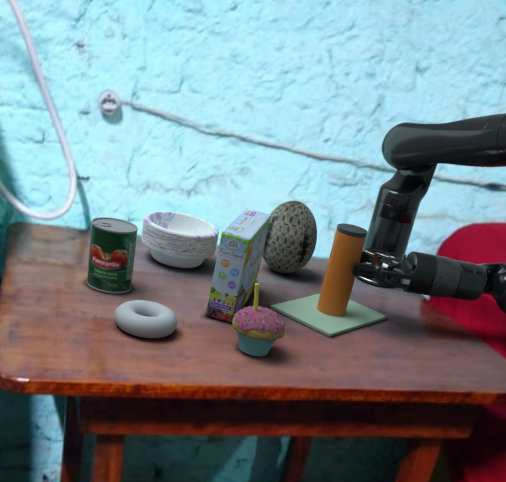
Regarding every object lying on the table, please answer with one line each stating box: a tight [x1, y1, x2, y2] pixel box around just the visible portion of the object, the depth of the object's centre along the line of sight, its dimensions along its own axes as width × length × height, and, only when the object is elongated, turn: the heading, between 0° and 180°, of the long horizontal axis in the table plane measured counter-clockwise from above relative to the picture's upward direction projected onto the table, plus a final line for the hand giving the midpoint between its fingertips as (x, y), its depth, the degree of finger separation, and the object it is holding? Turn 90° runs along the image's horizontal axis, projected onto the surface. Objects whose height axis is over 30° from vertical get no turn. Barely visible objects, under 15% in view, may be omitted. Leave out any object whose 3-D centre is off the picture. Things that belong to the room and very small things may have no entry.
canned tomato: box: [86, 216, 139, 295], centre depth 129 cm, size 8×8×11 cm
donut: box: [114, 299, 178, 339], centre depth 118 cm, size 10×4×10 cm
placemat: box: [269, 293, 387, 338], centre depth 142 cm, size 20×14×1 cm
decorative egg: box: [262, 200, 318, 274], centre depth 155 cm, size 12×12×15 cm
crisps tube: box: [317, 222, 368, 317], centre depth 138 cm, size 6×6×16 cm
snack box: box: [204, 207, 271, 324], centre depth 133 cm, size 21×6×15 cm, turn 168°
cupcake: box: [231, 278, 286, 357], centre depth 117 cm, size 9×8×12 cm
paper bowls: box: [140, 210, 220, 269], centre depth 150 cm, size 15×15×8 cm
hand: (348, 261), depth 137 cm, fingers open, 8 cm apart
